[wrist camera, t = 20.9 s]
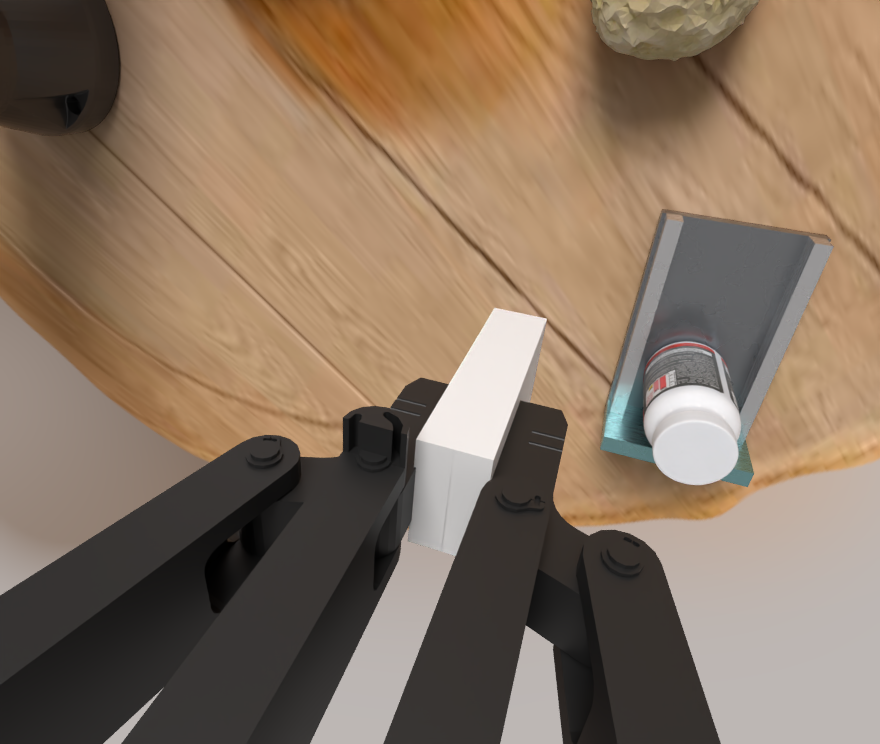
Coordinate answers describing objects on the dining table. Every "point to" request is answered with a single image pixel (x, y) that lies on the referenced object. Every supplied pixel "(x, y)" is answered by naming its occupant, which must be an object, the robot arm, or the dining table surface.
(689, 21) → the decorative object
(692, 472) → the pill bottle
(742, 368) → the grey tray holder
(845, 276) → the dining table surface
